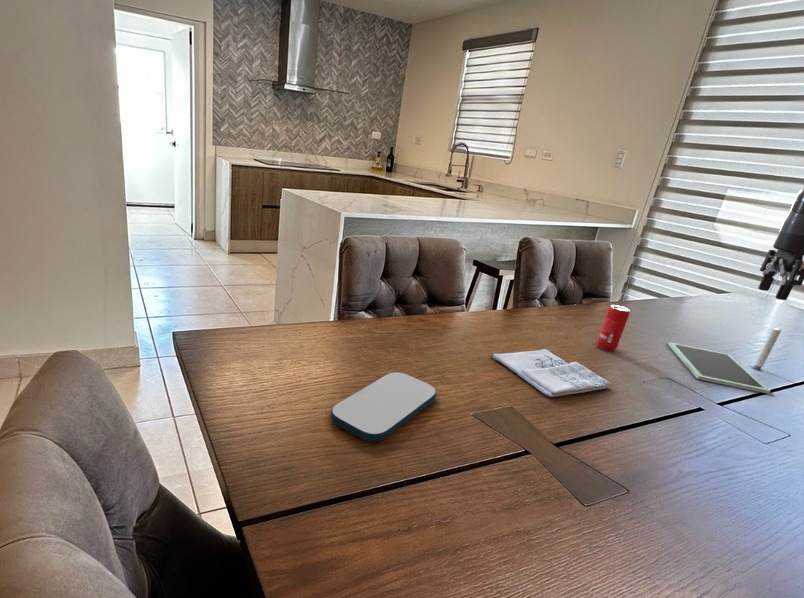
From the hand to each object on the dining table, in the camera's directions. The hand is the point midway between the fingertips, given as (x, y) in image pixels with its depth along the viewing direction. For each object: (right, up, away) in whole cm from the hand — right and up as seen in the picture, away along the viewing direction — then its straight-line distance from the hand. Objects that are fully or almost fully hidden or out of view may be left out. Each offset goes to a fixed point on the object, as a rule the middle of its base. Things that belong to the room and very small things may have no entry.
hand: (771, 294), depth 122 cm
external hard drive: (-102, -24, -32) cm, 110 cm away
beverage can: (-37, -14, +10) cm, 41 cm away
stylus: (+4, -20, +9) cm, 22 cm away
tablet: (-10, -19, +6) cm, 23 cm away
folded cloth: (-62, -20, -9) cm, 65 cm away
